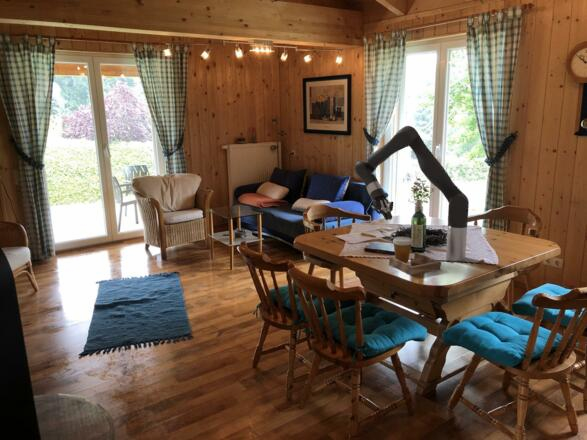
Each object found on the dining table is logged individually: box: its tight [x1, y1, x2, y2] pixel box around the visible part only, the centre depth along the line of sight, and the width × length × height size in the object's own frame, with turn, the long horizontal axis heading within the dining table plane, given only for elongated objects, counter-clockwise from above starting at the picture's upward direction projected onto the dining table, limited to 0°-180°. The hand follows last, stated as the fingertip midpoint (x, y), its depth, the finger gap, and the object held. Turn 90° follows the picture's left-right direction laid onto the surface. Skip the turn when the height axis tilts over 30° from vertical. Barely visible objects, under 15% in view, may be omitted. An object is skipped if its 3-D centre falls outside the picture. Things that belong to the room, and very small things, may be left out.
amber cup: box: [392, 236, 413, 264], centre depth 233 cm, size 10×10×12 cm
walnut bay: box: [388, 251, 442, 277], centre depth 225 cm, size 18×17×4 cm
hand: (389, 219), depth 239 cm, fingers closed
